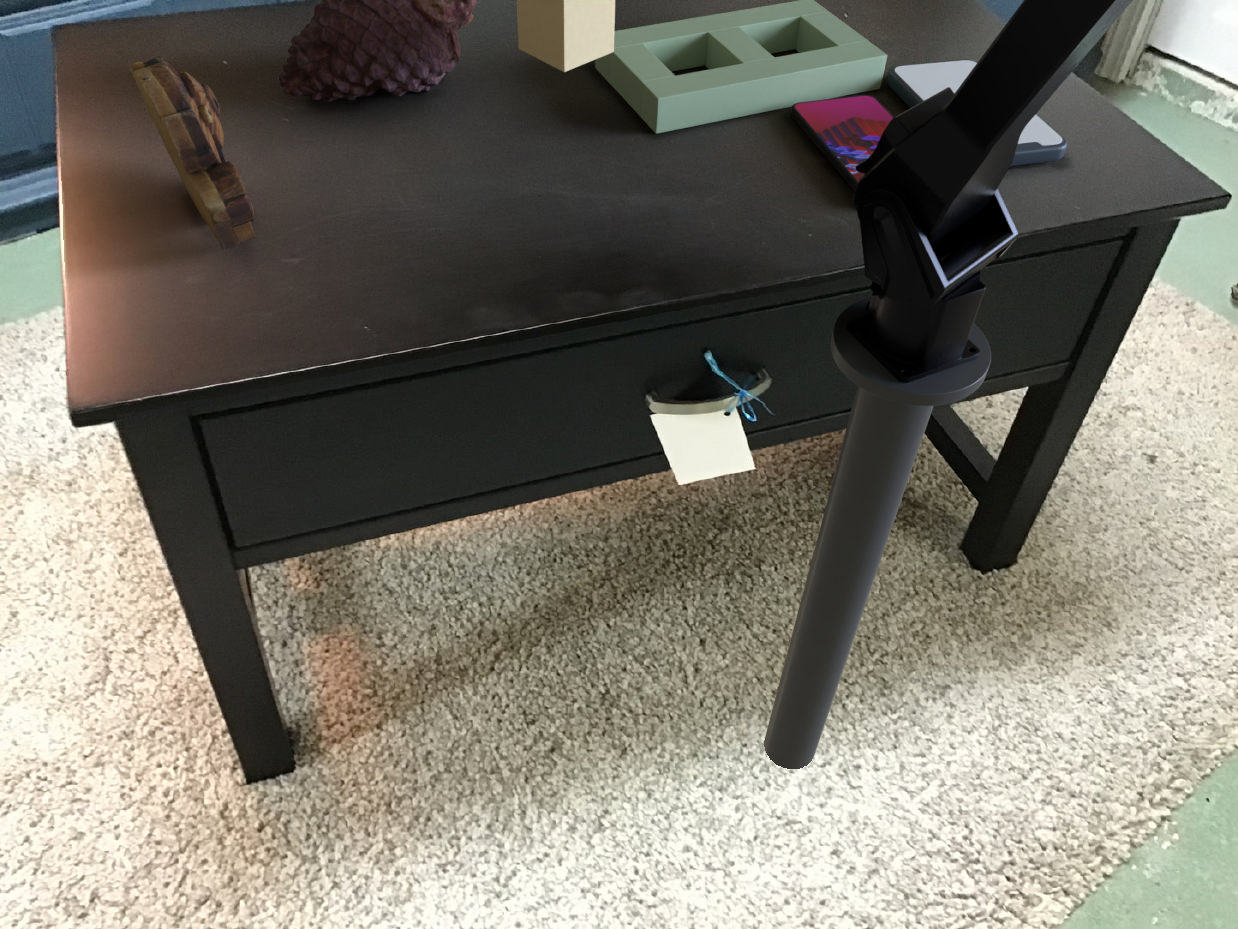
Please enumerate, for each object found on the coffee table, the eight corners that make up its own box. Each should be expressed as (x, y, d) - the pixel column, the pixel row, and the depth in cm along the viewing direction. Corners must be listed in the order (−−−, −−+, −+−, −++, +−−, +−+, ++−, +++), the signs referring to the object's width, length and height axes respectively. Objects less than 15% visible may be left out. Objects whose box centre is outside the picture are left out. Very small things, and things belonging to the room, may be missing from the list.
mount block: (880, 88, 89) (887, 54, 87) (655, 134, 83) (658, 98, 81) (806, 30, 97) (811, -2, 95) (595, 68, 90) (595, 33, 88)
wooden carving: (292, 255, 70) (259, 117, 63) (226, 278, 68) (184, 138, 61) (203, 149, 79) (166, 18, 72) (143, 166, 77) (98, 33, 70)
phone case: (879, 83, 90) (967, 175, 80) (883, 65, 89) (972, 156, 78) (971, 74, 92) (1069, 163, 81) (976, 56, 91) (1076, 144, 80)
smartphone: (873, 92, 87) (963, 184, 77) (871, 103, 87) (960, 195, 77) (787, 102, 85) (868, 198, 75) (785, 113, 86) (865, 209, 76)
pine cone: (309, 144, 80) (241, 14, 76) (312, 145, 89) (252, 29, 85) (515, 49, 82) (458, -83, 78) (497, 59, 91) (446, -58, 87)
